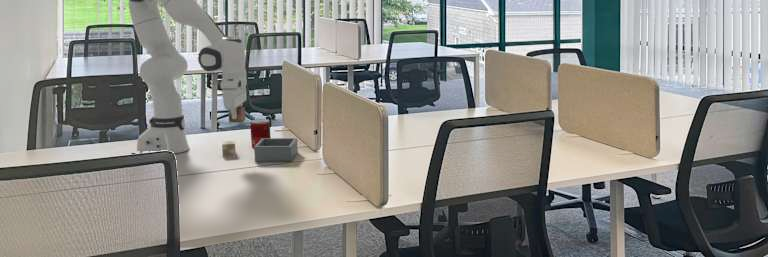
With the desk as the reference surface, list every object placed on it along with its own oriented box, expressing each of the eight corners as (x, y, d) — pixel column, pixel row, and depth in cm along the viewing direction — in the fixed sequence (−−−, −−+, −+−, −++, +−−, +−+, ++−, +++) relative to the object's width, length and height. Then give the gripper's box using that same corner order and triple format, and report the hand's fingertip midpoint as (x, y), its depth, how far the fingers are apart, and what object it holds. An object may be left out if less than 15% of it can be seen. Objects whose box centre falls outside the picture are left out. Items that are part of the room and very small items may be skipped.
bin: (255, 162, 272) (254, 146, 270) (262, 153, 285) (262, 138, 284) (291, 161, 271) (291, 146, 270) (297, 152, 285) (297, 138, 283)
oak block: (222, 156, 281) (222, 144, 280) (222, 153, 286) (222, 141, 285) (235, 156, 282) (235, 143, 281) (235, 153, 287) (234, 140, 286)
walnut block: (229, 122, 269) (228, 109, 268) (232, 119, 274) (231, 107, 273) (242, 122, 269) (241, 109, 268) (245, 119, 274) (244, 106, 273)
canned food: (267, 149, 292) (265, 122, 289) (248, 148, 293) (247, 122, 291) (273, 144, 299) (272, 118, 297) (255, 144, 301) (254, 118, 298)
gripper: (233, 76, 279) (235, 111, 282) (219, 84, 259) (221, 122, 262) (249, 76, 278) (251, 111, 281) (236, 84, 259) (238, 122, 261)
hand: (236, 116), depth 271 cm, fingers closed on walnut block, 5 cm apart
